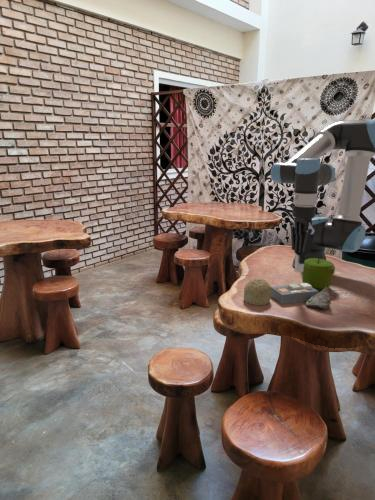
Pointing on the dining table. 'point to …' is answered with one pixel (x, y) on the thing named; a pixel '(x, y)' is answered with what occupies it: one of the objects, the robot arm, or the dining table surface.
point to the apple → (318, 273)
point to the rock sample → (320, 300)
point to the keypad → (292, 295)
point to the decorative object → (257, 292)
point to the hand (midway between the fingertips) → (298, 271)
